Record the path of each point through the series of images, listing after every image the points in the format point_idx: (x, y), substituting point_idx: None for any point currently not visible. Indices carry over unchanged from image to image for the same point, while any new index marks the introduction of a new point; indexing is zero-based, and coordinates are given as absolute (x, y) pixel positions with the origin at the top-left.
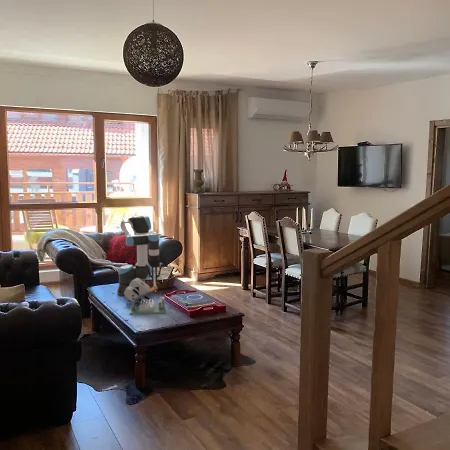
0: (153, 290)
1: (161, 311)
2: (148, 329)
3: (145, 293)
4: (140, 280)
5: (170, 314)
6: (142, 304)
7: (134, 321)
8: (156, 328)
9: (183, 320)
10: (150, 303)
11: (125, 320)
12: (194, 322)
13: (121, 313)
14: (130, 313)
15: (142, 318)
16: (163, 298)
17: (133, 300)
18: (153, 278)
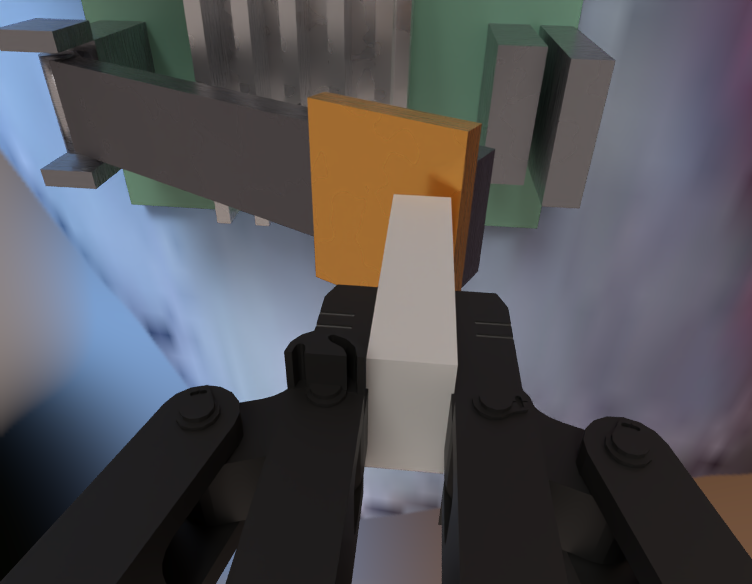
0: None
1: (500, 212)
2: (364, 510)
3: (233, 165)
4: None
5: (593, 262)
6: (234, 55)
7: (236, 370)
8: (420, 507)
9: (670, 423)
10: (355, 19)
11: (150, 336)
12: (746, 473)
13: (32, 137)
14: (143, 201)
15: (296, 318)
16: (577, 159)
17: (86, 185)
18: (367, 454)
